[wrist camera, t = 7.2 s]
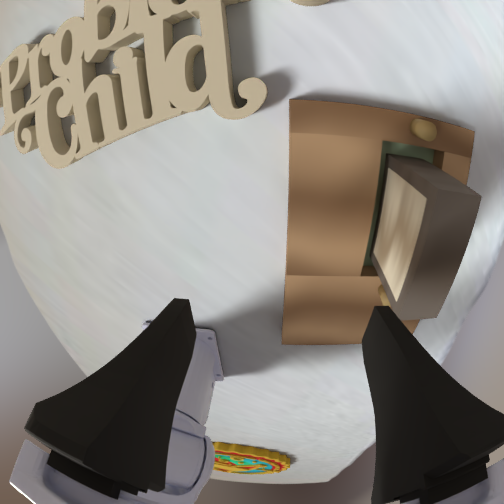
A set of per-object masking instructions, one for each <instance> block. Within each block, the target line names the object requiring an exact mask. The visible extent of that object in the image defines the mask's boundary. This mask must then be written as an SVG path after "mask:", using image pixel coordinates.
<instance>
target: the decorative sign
mask: <svg viewBox="0 0 504 504" xmlns="http://www.w3.org/2000/svg"><path fill="white" fill-rule="evenodd" d="M239 1H240V2H245V1H250V0H186V1H185V2H184V3H182V4H179V3H178V0H85V2H84V18H81V17H72V18H70V19H68V20H66V21H65V22H64V23H63V24H62V25H61V26H60V27H59V29H58V30H57V32H56V34H47V35H46V36H45V37H44V38H43V39H42V40H41V42H40V44H21V45H19V46H18V47H17V48H16V49H15V50H14V51H13V52H12V53H11V54H10V55H9V56H8V58H7V59H6V60H5V61H4V62H3V64H2V65H1V66H0V107H4V115H5V124H4V126H3V128H2V129H1V131H0V135H1V136H2V135H4V134H7V133H9V132H12V131H14V138H15V144H16V147H17V149H18V150H19V152H20V153H22V154H25V153H28V152H30V151H32V150H34V149H37V148H39V149H40V152H41V154H42V156H43V158H44V159H45V161H46V162H47V163H48V164H49V165H50V166H52V167H54V168H58V169H60V168H64V167H67V166H68V165H70V164H72V163H74V162H76V161H79V160H80V159H81V158H83V157H84V156H86V155H88V154H90V153H92V152H94V151H96V150H98V149H100V148H102V147H104V146H106V145H108V144H111V143H113V142H115V141H117V140H119V139H121V138H124V137H126V136H128V135H130V134H133V133H135V132H137V131H140V130H142V129H145V128H147V127H150V126H152V125H155V124H157V123H160V122H163V121H165V120H168V119H171V118H174V117H177V116H179V115H182V114H185V113H188V112H193V111H198V110H201V109H203V108H204V107H205V106H207V105H208V103H209V102H210V103H211V106H212V108H213V110H214V111H215V112H216V113H217V114H218V115H219V116H221V117H223V118H226V119H232V120H235V119H242V118H245V117H247V116H249V115H251V114H253V113H254V112H256V111H257V110H258V109H259V108H260V107H261V106H262V105H263V103H264V102H265V100H266V98H267V94H268V90H267V87H266V85H265V84H264V82H262V81H261V80H260V79H258V78H247V79H245V80H243V81H242V82H241V83H240V84H239V86H238V92H239V95H240V96H241V97H242V98H244V99H247V104H246V105H245V106H244V107H242V108H239V107H238V106H237V105H236V101H235V96H234V91H233V79H232V68H231V56H230V46H229V36H228V26H227V17H226V7H225V5H230V4H236V3H238V2H239ZM290 1H292V2H294V3H296V4H299V5H303V6H319V5H322V4H325V3H327V2H329V1H330V0H290ZM114 12H116V19H115V25H114V28H113V30H112V32H111V33H110V17H111V15H112V14H113V13H114ZM192 17H195V18H197V19H199V18H200V25H201V33H202V37H201V36H199V35H189V36H186V37H184V38H182V39H180V40H179V41H178V42H177V43H176V44H175V45H174V46H173V24H176V23H179V22H180V21H182V20H186V19H189V18H192ZM143 37H144V48H145V55H144V52H143V51H142V50H140V49H137V48H132V47H127V46H128V45H130V44H131V43H133V42H135V41H137V40H139V39H141V38H143ZM202 49H204V59H205V67H206V80H205V83H204V85H203V86H202V88H201V89H200V90H198V91H197V90H196V88H195V85H194V79H193V64H194V59H195V56H196V55H197V53H198V52H199V51H201V50H202ZM116 50H117V51H116ZM110 51H116V52H115V54H114V56H113V63H114V65H115V66H116V67H119V68H116V69H113V70H112V73H113V74H103V75H99V76H97V77H96V69H95V63H102V62H103V61H104V60H105V59H106V57H107V56H108V54H109V53H110ZM52 71H53V73H54V74H55V75H56V76H59V78H56V79H55V80H53V75H52ZM115 74H120V75H115ZM29 82H30V84H31V97H30V99H29V101H28V102H27V103H26V107H25V102H24V93H23V88H25V87H26V86H27V84H28V83H29ZM63 92H64V95H63V96H62V94H63ZM34 115H35V125H33V126H30V125H31V121H32V118H33V116H34ZM71 115H74V116H75V122H76V123H75V124H72V125H71V135H72V141H71V146H70V147H69V146H68V145H67V143H66V141H65V138H64V134H63V130H62V124H61V118H64V117H67V116H71Z"/></svg>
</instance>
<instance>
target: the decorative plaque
mask: <svg viewBox="0 0 504 504" xmlns="http://www.w3.org/2000/svg"><path fill="white" fill-rule="evenodd" d="M212 444H213V446H214V449H215V462H214V467H213V470H217V471H223V472H229V473H238V474H266V473H271V474H272V473H274V472H277V473H279V472H281V471H283V470H287V468H290V458H287V456H286V455H280V454H279V452H271V451H269V450H268V449H257V448H255V447H253V446H241V445H238V444H225V443H222V442H212Z"/></svg>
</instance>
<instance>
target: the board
mask: <svg viewBox="0 0 504 504" xmlns="http://www.w3.org/2000/svg"><path fill="white" fill-rule="evenodd" d="M474 133H475V132H474V131H472V130H469V129H466V128H462V127H459V126H456V125H453V124H449V123H446V122H442V121H439V120H435V119H431V118H427V117H423V116H419V115H414V114H410V113H405V112H400V111H395V110H389V109H384V108H378V107H371V106H364V105H357V104H348V103H339V102H328V101H315V100H294V99H289V195H288V228H287V252H286V273H285V291H284V308H283V323H282V344H285V345H337V344H362V338H363V335H364V333H365V330H366V328H367V325H368V322H369V320H370V317H371V314H372V312H373V309H374V306H389V307H390V308H391V309H392V307H391V305H390V302H389V300H388V297H387V295H386V292H385V290H384V288H383V285H382V283H381V281H380V278H379V276H378V274H377V271H376V269H375V267H374V265H373V262H372V260H371V258H370V256H369V255H370V250H371V245H372V241H373V236H374V231H375V226H376V220H377V215H378V209H379V203H380V197H381V190H382V183H383V176H384V168H385V159H386V153H389V154H396V155H402V156H409V157H415V158H421V159H424V160H426V161H428V162H429V163H431V164H433V165H434V166H436V167H438V168H440V169H441V170H443V171H444V172H446V173H448V174H449V175H451V176H452V177H454V178H456V179H457V180H459V181H460V182H462V183H463V184H465V185H466V184H467V179H468V174H469V168H470V163H471V156H472V149H473V142H474ZM392 311H393V310H392ZM419 320H420V319H416V320H401V321H402V323H403V324H404V325H405V326H406V327H407V329H408V330H409V331H410V332H411V333H412V334H413V332H414V330H415V328H416V326H417V324H418V322H419Z"/></svg>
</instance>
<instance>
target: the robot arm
mask: <svg viewBox="0 0 504 504" xmlns="http://www.w3.org/2000/svg"><path fill="white" fill-rule="evenodd" d="M142 328H143V332H142V333H141V334H140V335H139V336H138V337H137V338H136V339H135V340H133V341H132V342H131V343H130V344H129V345H128V346H127V347H126V348H125V349H124V350H123V351H122V352H120V353H119V354H118V355H117V356H116V357H115V358H113V359H112V360H111V361H110V362H108V363H107V364H106V365H105V366H103V367H102V368H100V369H99V370H98V371H96V372H95V373H93V374H92V375H90V376H89V377H87V378H86V379H84V380H83V381H81V382H79V383H78V384H76V385H74V386H72V387H71V388H69V389H67V390H65V391H63V392H61V393H59V394H57V395H55V396H52V397H50V398H48V399H45V400H43V401H40V402H38V403H36V404H35V406H34V408H33V410H32V412H31V414H30V417H29V419H28V421H27V423H26V426H25V428H24V429H25V431H26V432H27V433H29V434H30V435H31V436H32V437H34V438H35V439H37V440H38V441H39V442H41V443H43V444H44V445H45V446H47V447H48V448H50V449H51V453H50V454H48V453H47V452H45V451H44V450H42V449H41V448H39V447H38V446H36V445H34V444H33V443H31V442H30V441H29V440H27V439H25V441H24V443H23V446H22V448H21V450H20V453H19V456H18V458H17V461H16V463H15V466H14V469H13V472H12V475H11V478H10V481H9V482H10V483H11V484H12V485H13V486H14V487H15V488H16V489H17V490H19V491H20V492H21V493H22V494H23V495H25V496H26V497H27V498H28V499H29V500H31V501H32V502H33V503H34V504H194V502H195V501H196V500H197V497H198V495H199V493H200V491H201V489H202V488H203V486H204V485H205V484H206V483H207V481H208V480H209V478H210V476H211V473H212V470H213V467H214V462H215V449H214V446H213V444H212V441H211V439H210V438H209V437H208V436H205V431H206V427H205V426H204V424H205V423H206V421H207V418H208V414H209V409H210V404H211V399H212V394H213V390H214V385H215V381H223V380H224V375H223V370H222V366H221V361H220V356H219V351H218V346H217V341H216V335H215V332H214V331H213V330H209V329H198V328H195V325H194V320H193V316H192V311H191V306H190V302H189V299H178V298H174V299H173V300H172V301H171V302H170V303H169V304H168V305H167V306H166V307H165V309H164V310H163V311H162V312H161V313H160V314H159V315H158V316H157V317H156V318H155V319H154V320H153V321H152V322H151V323H143V325H142ZM362 349H363V358H364V365H365V369H366V374H367V378H368V383H369V387H370V392H371V397H372V402H373V407H374V414H375V427H376V463H375V465H376V466H375V477H374V484H373V491H372V497H371V502H372V504H386V503H390V502H394V501H398V500H400V504H504V458H503V459H502V460H500V461H498V462H497V463H495V464H493V465H491V466H490V467H488V468H486V463H488V462H489V460H490V459H489V454H490V453H491V452H493V451H495V450H496V449H497V448H499V447H500V446H502V445H503V444H504V414H502V413H501V412H499V411H497V410H495V409H493V408H491V407H490V406H488V405H487V404H485V403H484V402H482V401H481V400H480V399H478V398H477V397H475V396H474V395H473V394H471V393H470V392H469V391H468V390H466V389H465V388H464V387H462V386H461V385H460V384H459V383H458V382H457V381H456V380H454V379H453V378H452V377H451V376H450V375H449V374H448V373H447V372H446V371H445V370H444V369H443V368H442V367H441V366H440V365H439V364H438V363H437V362H436V361H435V360H434V359H433V358H432V357H431V355H430V354H429V353H428V352H427V351H426V350H425V349H424V348H423V347H422V345H421V344H420V343H419V342H418V341H417V339H416V338H415V337H414V336H413V335H412V333H411V332H410V331H409V330H408V329H407V327H406V326H405V325H404V324H403V323H402V321H401V320H400V319H399V318H398V317H397V315H396V314H395V313H394V312H393V311H392V309H391V308H390V307H389V306H374V309H373V312H372V314H371V317H370V320H369V322H368V325H367V328H366V330H365V333H364V335H363V338H362Z"/></svg>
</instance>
